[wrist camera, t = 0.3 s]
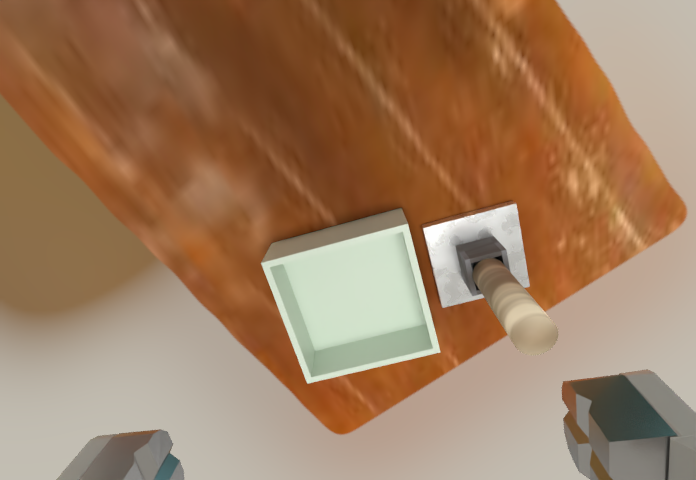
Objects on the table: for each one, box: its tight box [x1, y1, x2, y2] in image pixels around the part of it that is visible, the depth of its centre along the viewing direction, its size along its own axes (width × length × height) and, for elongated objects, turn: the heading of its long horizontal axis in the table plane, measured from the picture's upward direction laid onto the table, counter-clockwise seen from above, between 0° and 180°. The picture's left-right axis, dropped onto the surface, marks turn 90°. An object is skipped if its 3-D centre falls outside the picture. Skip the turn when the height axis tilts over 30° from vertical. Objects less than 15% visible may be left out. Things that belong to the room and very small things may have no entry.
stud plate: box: [422, 201, 530, 308], centre depth 55 cm, size 12×12×6 cm
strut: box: [455, 236, 558, 355], centre depth 48 cm, size 5×5×19 cm
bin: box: [261, 208, 440, 384], centre depth 56 cm, size 18×18×7 cm
